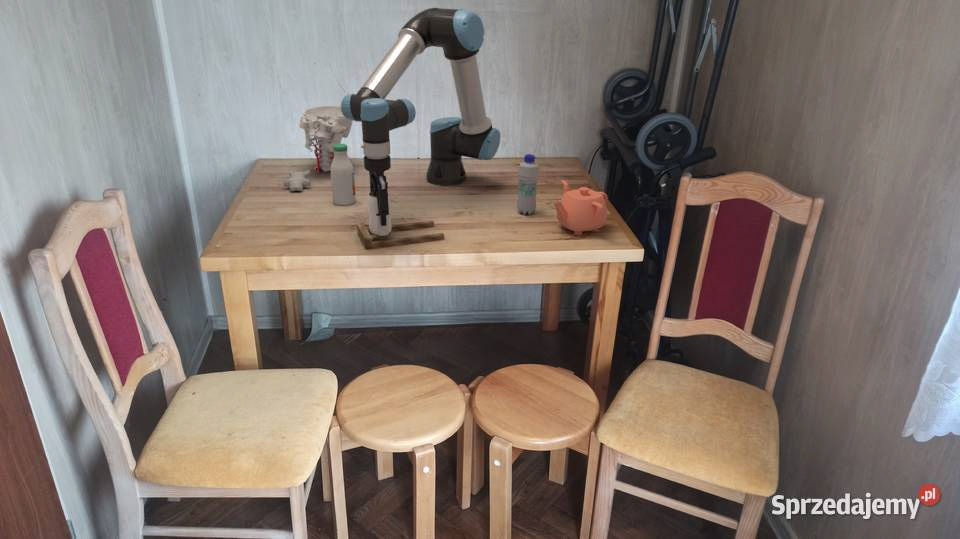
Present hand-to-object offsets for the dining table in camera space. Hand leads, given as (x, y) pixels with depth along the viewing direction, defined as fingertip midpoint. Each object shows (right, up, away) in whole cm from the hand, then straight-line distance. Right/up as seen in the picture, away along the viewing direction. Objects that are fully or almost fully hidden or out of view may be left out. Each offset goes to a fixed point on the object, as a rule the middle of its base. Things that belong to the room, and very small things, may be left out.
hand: (380, 230), depth 192 cm
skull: (-28, +26, +59) cm, 70 cm away
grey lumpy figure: (-37, +18, +43) cm, 59 cm away
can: (0, -1, 0) cm, 1 cm away
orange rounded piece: (+61, +1, +13) cm, 62 cm away
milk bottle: (-17, +11, +29) cm, 35 cm away
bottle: (+45, +7, +24) cm, 52 cm away
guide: (+7, -2, +4) cm, 8 cm away
